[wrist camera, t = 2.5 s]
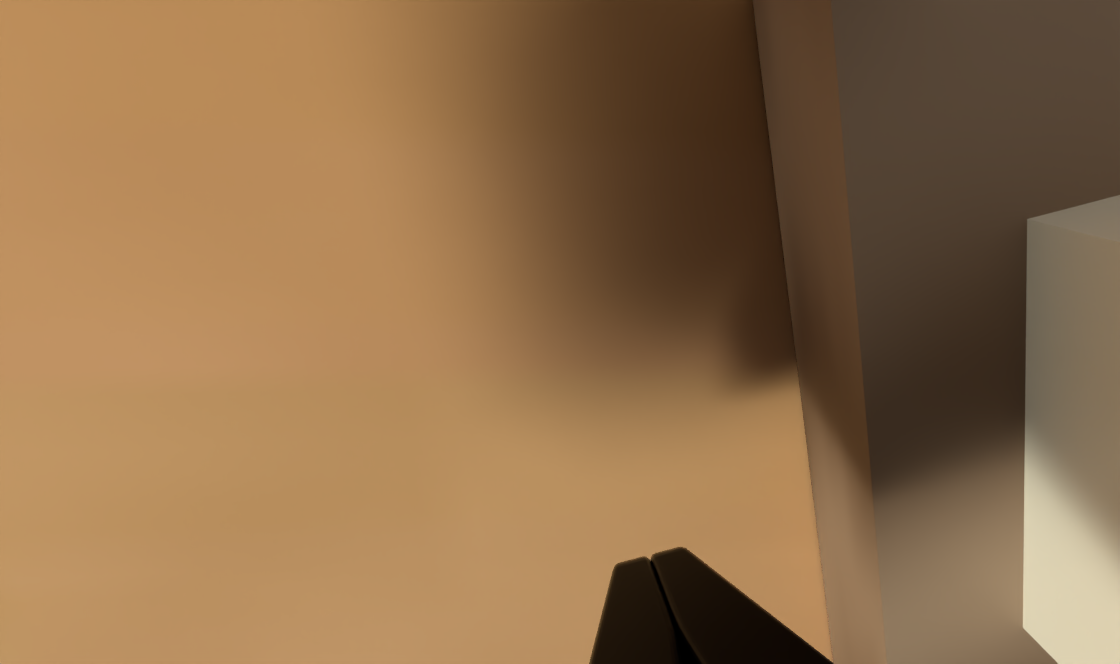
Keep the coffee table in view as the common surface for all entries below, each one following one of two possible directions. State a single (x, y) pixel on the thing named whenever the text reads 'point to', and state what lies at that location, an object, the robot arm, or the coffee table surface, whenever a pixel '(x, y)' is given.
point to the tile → (1073, 434)
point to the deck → (926, 289)
